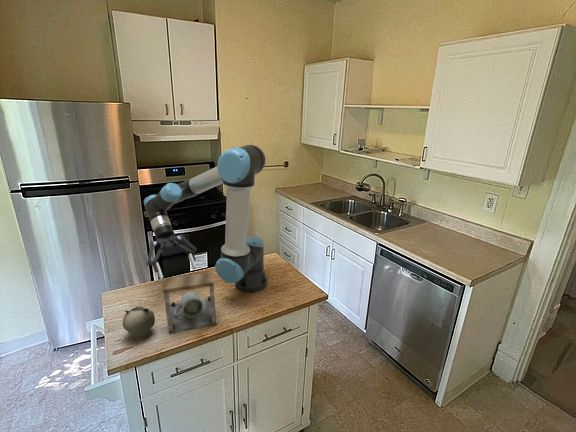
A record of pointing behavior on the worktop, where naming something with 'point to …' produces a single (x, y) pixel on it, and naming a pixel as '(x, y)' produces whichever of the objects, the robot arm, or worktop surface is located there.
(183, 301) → the ceramic mug
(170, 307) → the shelf
